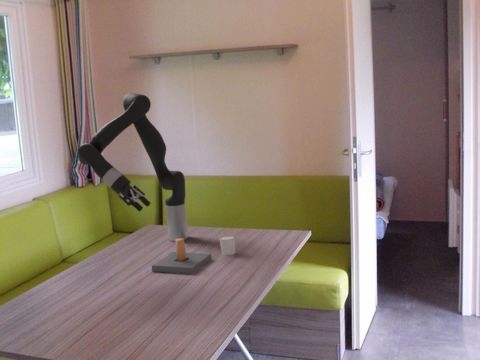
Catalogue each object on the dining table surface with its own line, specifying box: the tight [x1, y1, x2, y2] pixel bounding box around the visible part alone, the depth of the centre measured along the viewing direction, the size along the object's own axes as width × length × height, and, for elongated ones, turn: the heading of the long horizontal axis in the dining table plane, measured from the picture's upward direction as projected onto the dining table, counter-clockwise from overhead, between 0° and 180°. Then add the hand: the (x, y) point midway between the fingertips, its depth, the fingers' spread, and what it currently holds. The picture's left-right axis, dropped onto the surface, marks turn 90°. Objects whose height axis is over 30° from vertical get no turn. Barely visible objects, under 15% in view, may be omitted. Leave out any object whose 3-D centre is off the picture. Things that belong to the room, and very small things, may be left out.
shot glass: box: [219, 235, 236, 257], centre depth 242 cm, size 7×7×7 cm
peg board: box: [151, 251, 212, 275], centre depth 231 cm, size 18×18×2 cm
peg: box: [174, 238, 187, 262], centre depth 230 cm, size 4×4×11 cm
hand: (145, 207), depth 231 cm, fingers open, 8 cm apart
